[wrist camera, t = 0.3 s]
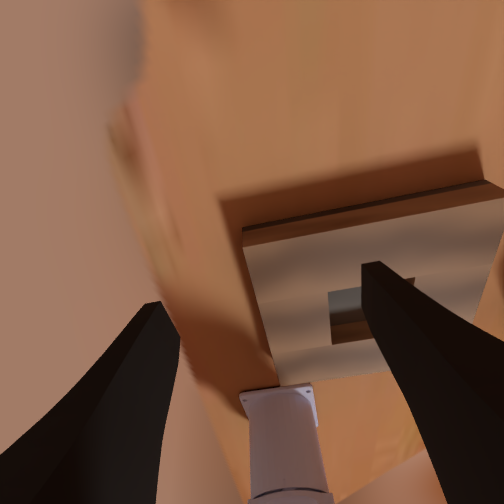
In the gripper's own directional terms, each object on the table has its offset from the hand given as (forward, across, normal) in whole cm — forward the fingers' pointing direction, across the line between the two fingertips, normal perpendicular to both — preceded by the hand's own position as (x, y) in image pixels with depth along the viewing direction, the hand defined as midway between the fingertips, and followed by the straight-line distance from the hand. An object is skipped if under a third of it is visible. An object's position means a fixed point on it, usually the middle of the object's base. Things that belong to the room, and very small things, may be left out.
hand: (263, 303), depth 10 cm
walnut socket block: (+10, -7, +10) cm, 16 cm away
